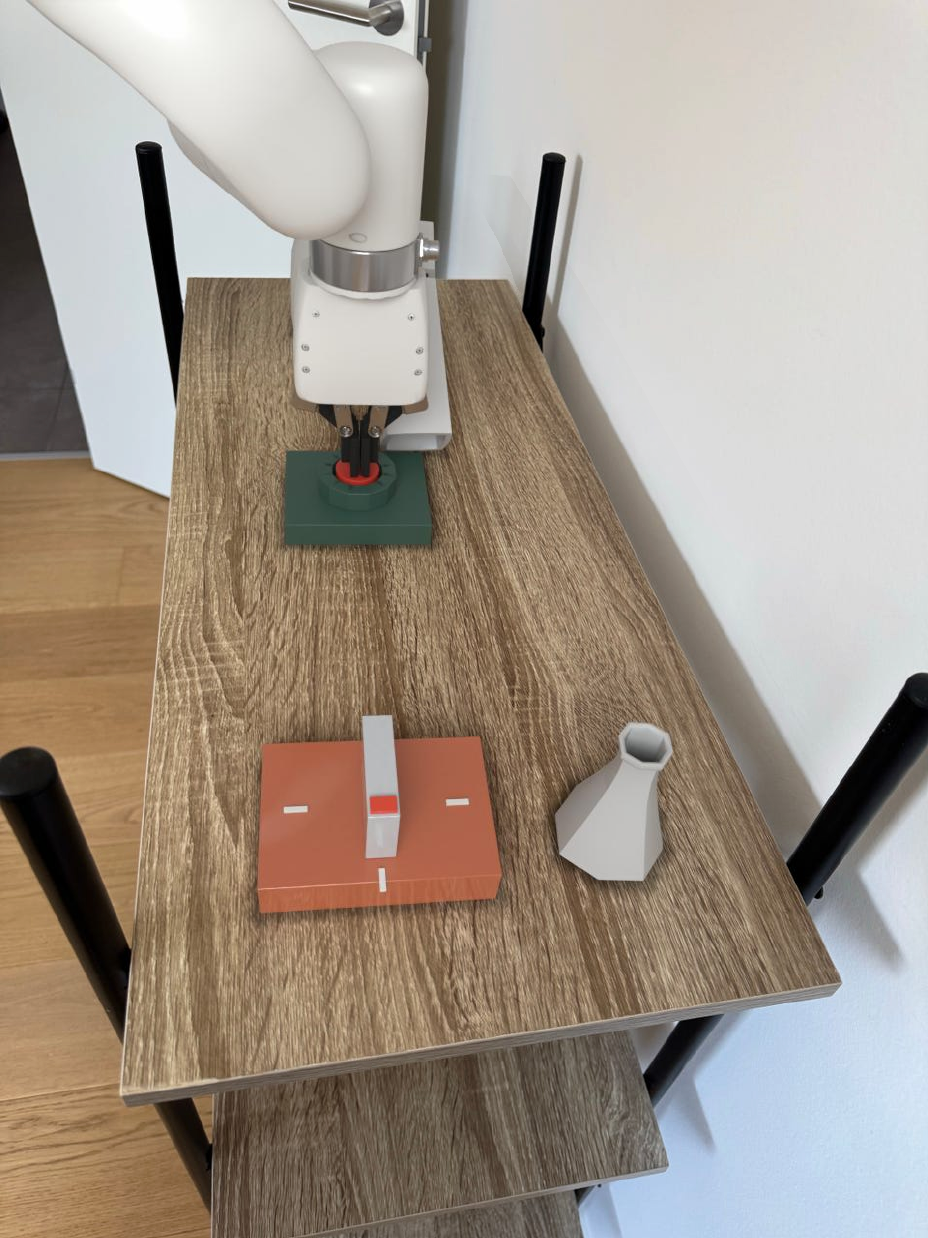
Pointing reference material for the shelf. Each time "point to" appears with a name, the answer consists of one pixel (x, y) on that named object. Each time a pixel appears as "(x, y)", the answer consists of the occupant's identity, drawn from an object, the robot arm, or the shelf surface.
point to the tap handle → (379, 787)
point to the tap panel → (334, 827)
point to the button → (344, 476)
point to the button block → (356, 502)
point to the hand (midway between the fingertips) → (359, 466)
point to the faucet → (435, 422)
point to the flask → (618, 810)
